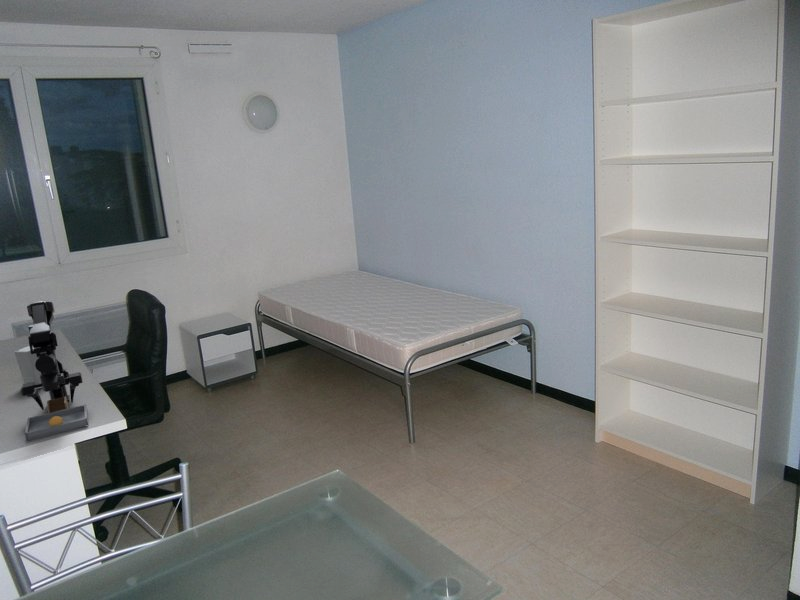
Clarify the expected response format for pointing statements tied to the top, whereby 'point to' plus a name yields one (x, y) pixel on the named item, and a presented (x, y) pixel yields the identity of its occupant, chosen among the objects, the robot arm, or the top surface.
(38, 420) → the tray
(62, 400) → the scoop
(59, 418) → the ball
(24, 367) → the skincare box
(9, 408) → the top surface
